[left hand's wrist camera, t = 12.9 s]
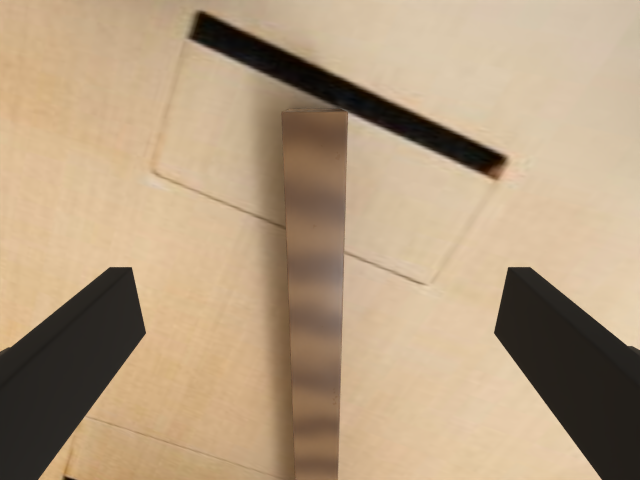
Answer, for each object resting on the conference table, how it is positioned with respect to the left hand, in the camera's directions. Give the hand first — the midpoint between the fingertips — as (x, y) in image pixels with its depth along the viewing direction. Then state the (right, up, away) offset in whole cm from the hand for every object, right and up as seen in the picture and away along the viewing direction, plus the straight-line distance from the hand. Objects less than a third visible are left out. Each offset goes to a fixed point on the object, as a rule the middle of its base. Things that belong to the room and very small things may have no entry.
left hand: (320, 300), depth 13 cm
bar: (0, -20, +35) cm, 40 cm away
